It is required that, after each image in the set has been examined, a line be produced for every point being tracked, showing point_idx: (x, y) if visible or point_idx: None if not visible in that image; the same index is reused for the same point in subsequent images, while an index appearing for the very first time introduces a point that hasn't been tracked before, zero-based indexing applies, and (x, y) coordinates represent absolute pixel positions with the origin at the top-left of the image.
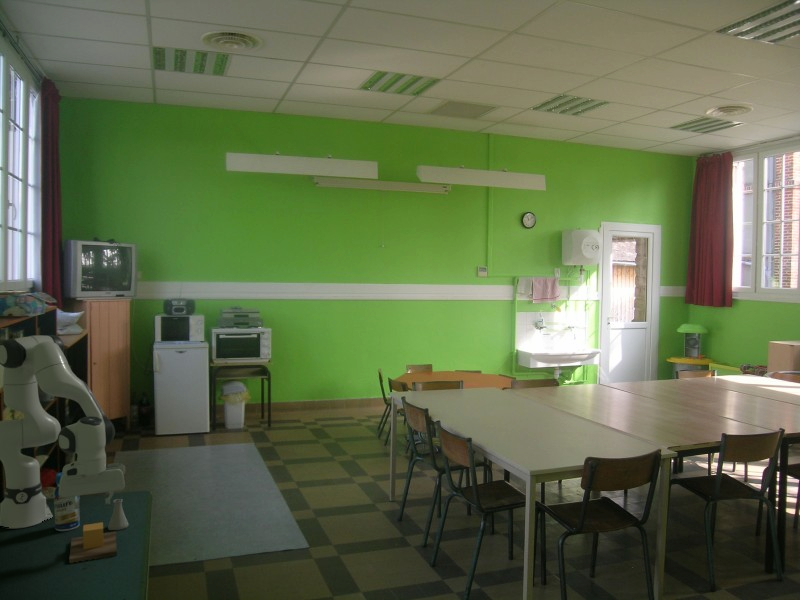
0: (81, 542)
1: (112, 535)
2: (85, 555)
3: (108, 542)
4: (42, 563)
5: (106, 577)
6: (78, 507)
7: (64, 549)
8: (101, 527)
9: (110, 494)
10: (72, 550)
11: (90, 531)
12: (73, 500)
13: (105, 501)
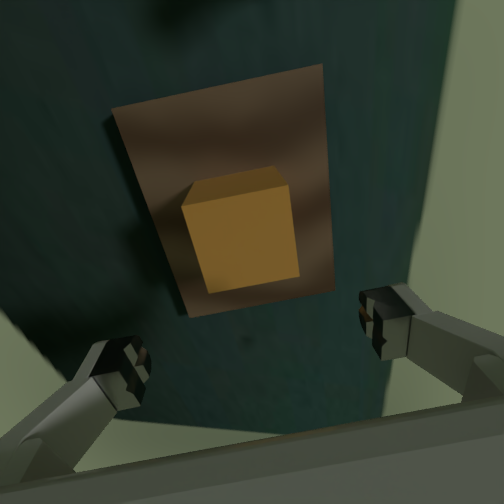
0: (183, 179)
1: (310, 122)
2: (236, 303)
3: (300, 207)
4: (99, 290)
5: (311, 388)
6: (144, 372)
7: (121, 185)
8: (290, 262)
9: (468, 376)
10: (174, 255)
11: (241, 283)
12: (74, 462)
13: (366, 297)
